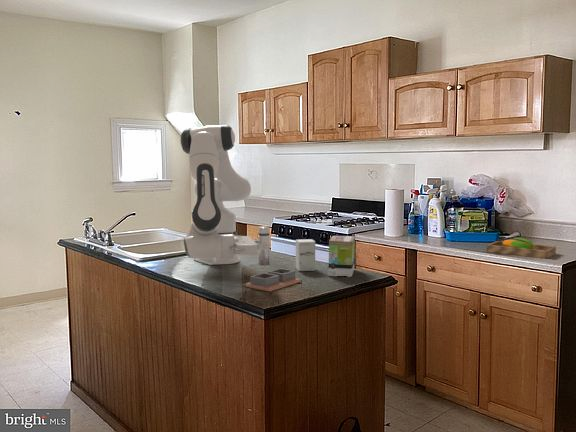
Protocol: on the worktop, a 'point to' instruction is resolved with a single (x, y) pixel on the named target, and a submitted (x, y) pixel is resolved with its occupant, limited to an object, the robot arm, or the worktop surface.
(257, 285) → the grey double cup holder
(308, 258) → the supplement box
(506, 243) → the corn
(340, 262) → the tea box
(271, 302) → the worktop surface
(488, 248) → the wooden tray
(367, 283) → the worktop surface
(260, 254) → the grey capped bottle
